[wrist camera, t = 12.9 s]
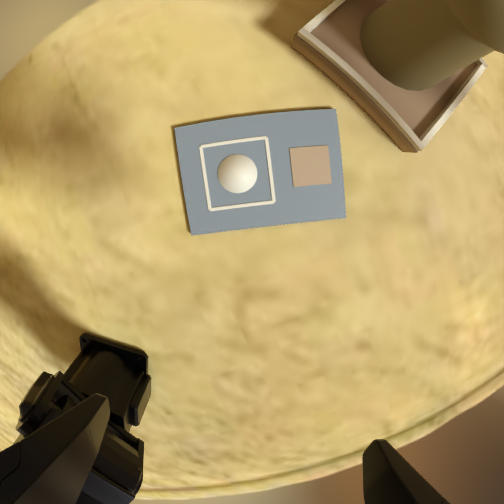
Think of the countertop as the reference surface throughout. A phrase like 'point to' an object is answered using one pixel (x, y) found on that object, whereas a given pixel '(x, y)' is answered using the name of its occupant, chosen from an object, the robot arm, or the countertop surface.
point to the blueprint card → (261, 170)
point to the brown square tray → (379, 76)
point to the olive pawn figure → (430, 38)
